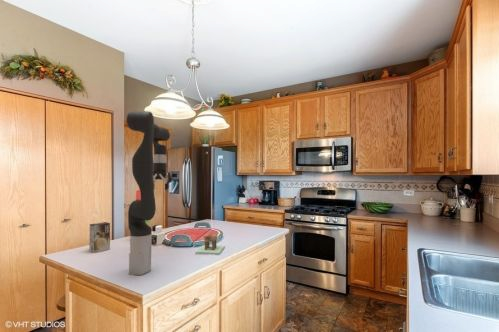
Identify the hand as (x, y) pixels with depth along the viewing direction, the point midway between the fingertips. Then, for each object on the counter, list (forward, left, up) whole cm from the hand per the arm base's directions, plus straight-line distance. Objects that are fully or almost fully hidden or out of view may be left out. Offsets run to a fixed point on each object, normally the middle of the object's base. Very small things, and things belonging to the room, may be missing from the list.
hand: (159, 189), depth 148 cm
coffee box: (-2, +36, -37) cm, 52 cm away
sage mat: (+6, -30, -36) cm, 47 cm away
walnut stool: (+6, -30, -35) cm, 47 cm away
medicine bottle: (+16, +9, -37) cm, 41 cm away
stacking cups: (+23, +24, -37) cm, 50 cm away
